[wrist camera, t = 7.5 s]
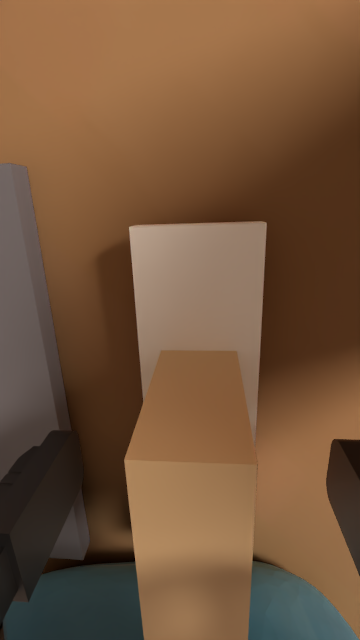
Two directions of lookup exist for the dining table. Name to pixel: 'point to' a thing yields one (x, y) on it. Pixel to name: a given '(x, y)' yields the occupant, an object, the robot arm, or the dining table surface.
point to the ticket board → (30, 348)
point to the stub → (196, 425)
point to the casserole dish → (125, 612)
